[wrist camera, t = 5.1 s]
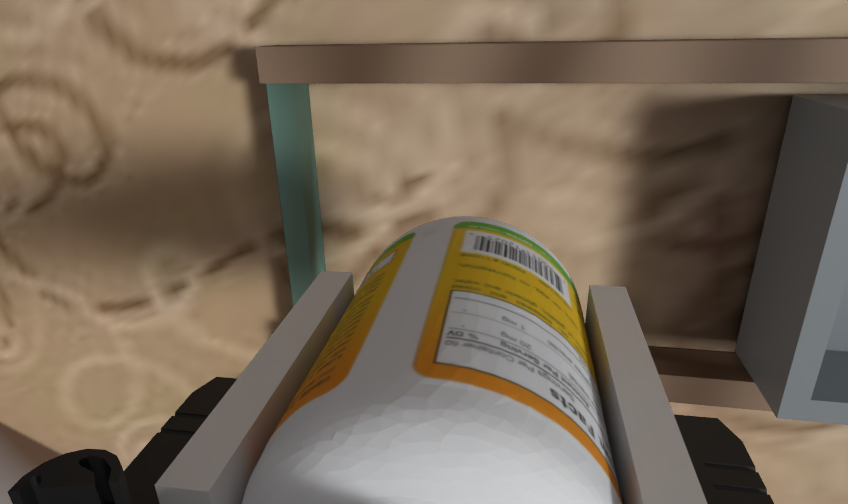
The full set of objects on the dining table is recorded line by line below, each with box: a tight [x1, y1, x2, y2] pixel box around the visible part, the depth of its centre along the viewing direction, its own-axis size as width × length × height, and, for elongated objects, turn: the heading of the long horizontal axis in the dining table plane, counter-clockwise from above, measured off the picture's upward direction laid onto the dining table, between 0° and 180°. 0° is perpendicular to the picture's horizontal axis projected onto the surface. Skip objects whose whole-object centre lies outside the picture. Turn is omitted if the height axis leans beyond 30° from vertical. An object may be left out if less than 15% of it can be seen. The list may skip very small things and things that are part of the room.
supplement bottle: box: [242, 216, 623, 504], centre depth 9 cm, size 5×5×10 cm
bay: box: [255, 37, 848, 411], centre depth 20 cm, size 32×13×2 cm, turn 91°
